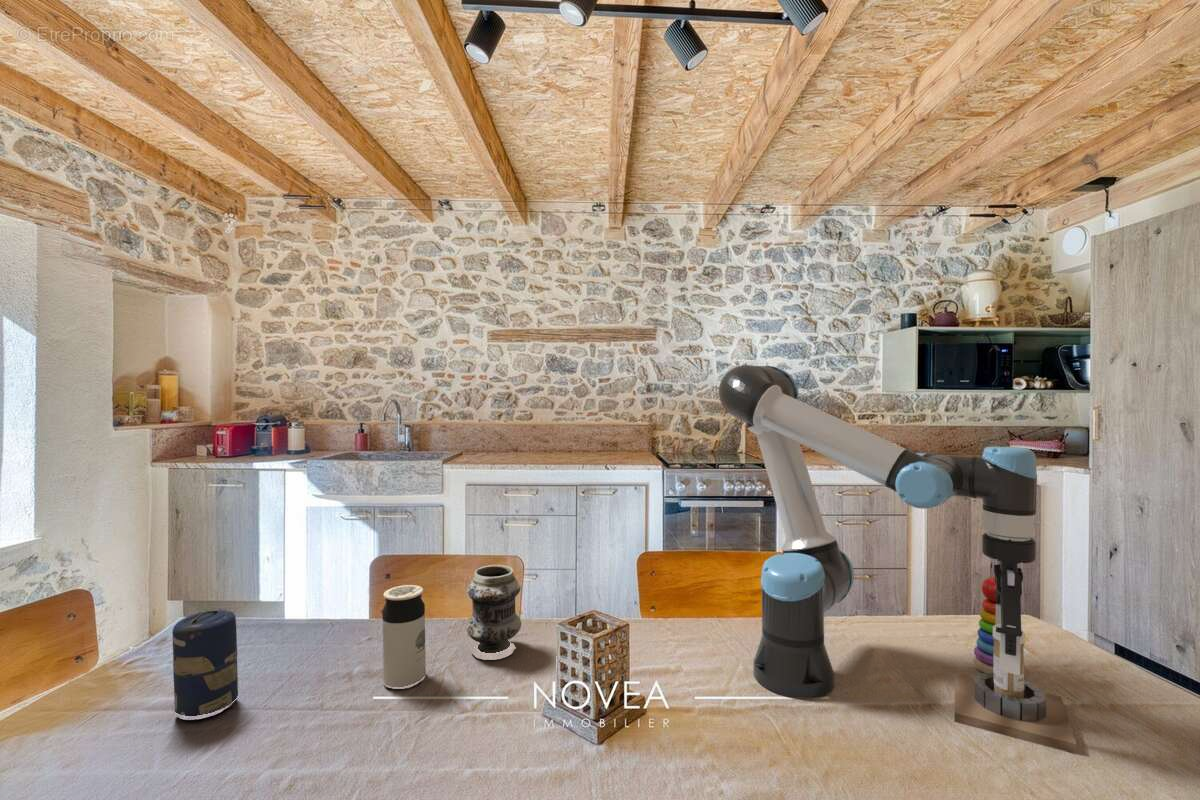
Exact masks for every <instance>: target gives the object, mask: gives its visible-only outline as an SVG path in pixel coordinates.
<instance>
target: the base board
mask: <svg viewBox="0 0 1200 800" xmlns="http://www.w3.org/2000/svg"><path fill="white" fill-rule="evenodd" d="M954 675H955V676H954V677H955V678H954V681H955V682H954V723H955V722H956V723H958V724H963V725H966V726H971V727H974V728H978V729H983V730H984V731H985V730H986V731H990V732H992V733H997V734H1000V735H1004V736H1007V737H1010V738H1011V737H1012V738H1015V739H1019V740H1023V741H1026V742H1029V743H1034V744H1037V745H1042V746H1045V747H1050V748H1052V749H1053V748H1054V749H1057V750H1061V751H1064V752H1068V753H1072V754H1075V755H1077V754H1078V752H1077V750H1078V745H1077V741H1076V739H1075V735H1074V732H1073V729H1072V725H1071V722H1070V720H1069V717H1068V714H1067V710H1066V707H1065V705H1064V701H1063V698H1062V696H1059V695H1055V694H1051V693H1047V692H1044V693H1045V696H1046V718H1044V719H1042V720H1040V721H1037V722H1033V721H1021V720H1020V721H1018V720H1014V719H1010V718H1006V717H1003V716H1002V715H1001V716H1000V715H998V714H996V713H993V712H991V711H989V710H987V709H985V708H984V707H982V706H981V705H980V704H979V703H978V702H977V701H976V700H975V679H974V677H975V676H971V675H967V674H963V673H958V672H955V674H954Z"/></svg>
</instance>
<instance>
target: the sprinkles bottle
mask: <svg viewBox="0 0 1200 800" xmlns="http://www.w3.org/2000/svg"><path fill="white" fill-rule="evenodd" d="M1007 626H1008V627H1013V628H1016V627H1014V626H1009V625H1007ZM996 627H999V628H1001V624H996V625H994V626H993V639H994V653H993V666H994V691H995V692H997V693H1000V694H1002V695H1005V696H1009V697H1013V698H1020V699H1024V681H1025V662H1024V661H1025V660H1024V647H1025V646H1024V645H1025V643H1026V634H1025V631H1024V630H1023V629H1021V631H1022V636H1021V644H1020V675H1017V674H1012V673H1008V672H1004V671H1000V669H999V665H1000V633H998V632H996Z"/></svg>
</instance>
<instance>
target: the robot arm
mask: <svg viewBox="0 0 1200 800" xmlns="http://www.w3.org/2000/svg"><path fill="white" fill-rule="evenodd" d="M718 398H719V400H720V404H721V405H722V407H723V409H724V410H726V412H727V413H728V414H730V415H731V416H733V417H735V418H737V419H739V420H742V422H745V424H746V429H747V430H748V431H749V432H751V433H752V434H754V435H755V436H756V438H757V442H758V445H759V449H760V453H761V456H762V459H763V463H764V466H765V470H766V473H767V477H768V479H769V484H770V488H771V490H772V494H773V498H774V500H775V504H776V507H777V511H778V515H779V518H780V522H781V526H782V529H783V532H784V535H785V536H784V537H785V541H784V543H783V545H782V547H781V551H782V554H780V553H779V554H774V555H773V556H772V555H771V556H770V557H769V558H767V559H766V560H765V561H764V562H763V564H762V569H761V577H760V585H761V619H762V620H761V627H762V629H761V638H760V642H759V644H758V646H757V649H756V650H757V651H756V653H755V655H754V658H753V677H754V679H755V680H756V681H757V682H758V683H759V684H760V685H761V686H762V687H764V688H765V689H768V690H769V691H771V692H774V693H776V694H779V695H782V696H787V697H789V698H790V697H791V698H796V699H797V698H798V699H813V698H814V699H815V698H820V697H823V696H826V695H828V694H830V693H831V692H832V691H833V690H834V687H835V673H834V668H833V666H832V663H831V660H830V657H829V653H828V651H827V648H826V645H825V613H826V612H827V611H829V610H830V609H831V608H833V607H834V606H835V605H836V604H838V603H840V602H842V601H843V600H844V599H845V598H846V597H847V595H848V594H849V593H850V591H851V589H852V588H853V585H854V581H855V572H854V571H855V570H854V566H853V564H852V562H851V560H850V559H849V557H848V555H846V553H845V552H843V551H841V549H840V546H839V544H838V541H837V539H836V536H834V535H833V534H830V533H829V532H828V531H827V529H826V526H825V522H824V520H823V517H822V512H821V510H820V507H819V506H820V505H819V504H818V500H817V496H816V493H815V490H814V487H813V484H812V481H811V477H810V474H809V470H808V468H807V463H806V460H805V457H804V454H803V451H802V447H801V445H802V446H804V447H806V448H808V449H810V450H812V451H814V452H816V453H818V454H820V455H822V456H824V457H826V458H828V459H830V460H832V461H834V462H836V463H838V464H840V465H842V466H844V467H846V468H848V469H850V470H852V471H854V472H856V473H858V474H860V475H862V476H864V477H866V478H868V479H870V480H872V481H874V482H876V483H878V484H879V485H882V486H883V487H886V488H889V489H890V490H892V491H894V492H895V493H896V494H897V495H898V496H899V497H900V499H901V500H902V501H903V502H904V503H905V504H907V505H909V506H910V507H912V508H916V509H923V510H924V509H925V510H926V509H932V508H935V507H939V506H941V505H942V504H945V503H946V502H947V500H949V499H950V498H951V497H960V498H961V497H962V498H970V499H981V500H982V509H981V510H982V511H981V513H982V514H981V516H982V517H981V522H982V523H981V525H982V526H981V529H982V531H983V532H984V533H983V534H982V535H981V539H982V544H981V550H982V554H983V555H985V557H987V558H990V559H992V560H997V561H996V562H997V563H996V564H993V574H994V577H995V582H996V592H995V594H996V596H997V597H996V602H997V603H1000V604H996V623H995V625H996V624H1001V628H999V627H996V632H998V633H1000V665H999V669H1000V671H1004V672H1008V673H1012V674H1017V675H1020V644H1021V636H1022V631H1021V630H1022V611H1021V610H1022V605H1021V598H1022V595H1023V591H1022V590H1023V589H1022V583H1023V582H1024V581H1023V580H1024V573H1023V572H1022V568H1021V567H1018V564H1021V563H1022V564H1030V563H1033V562H1034V561H1036V554H1037V550H1036V547H1037V544H1036V543H1037V541H1035V539H1033V538H1034V537H1036V526H1039V525H1041V521H1040V519H1038V518H1036V517H1037V516H1036V514H1037V489H1038V474H1037V472H1038V471H1037V456H1036V454H1035V452H1034V451H1033V450H1031V449H1029V448H1024V447H1015V446H1000V445H999V446H996V445H995V446H986V447H985V448H984V449H983V453H982V455H981V456H978V455H977V456H969V455H968V456H967V455H966V456H965V455H954V454H953V455H952V454H941V453H934V452H921V453H920V452H914V451H911V450H909V449H907V448H905V447H902V446H900V445H898V444H896V443H894V442H891V441H890V440H888V439H885V438H883V437H881V436H878V435H876V434H874V433H872V432H870V431H867V430H866V429H863V428H861V427H858V426H856V425H854V424H852V423H850V422H847V421H846V420H843V419H841V418H838V417H836V416H834V415H832V414H829V413H827V412H826V411H823V410H821V409H819V408H816V407H814V406H812V405H810V404H808V403H806V402H804V401H801V400H799V387H798V384H797V381H796V380H795V379H794V377H793V376H792V375H791V374H790V373H789V372H787V370H784V369H782V368H779V367H776V366H774V365H773V366H772V365H760V366H759V365H751V364H748V365H747V364H744V365H738V366H735V367H733V368H731V369H730V370H729V371H728V372H726V373H725V374H724V376H723V377H722V379H721V381H720V383H719V386H718ZM1007 625H1009V626H1014V627H1016V628H1013V627H1008V626H1007Z"/></svg>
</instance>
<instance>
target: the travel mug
mask: <svg viewBox="0 0 1200 800" xmlns="http://www.w3.org/2000/svg"><path fill="white" fill-rule="evenodd" d="M423 593H424V588H423V587H422V586H420V585H415V584H404V585H399V586H394V587H392V588H389V589H387V590H385V591H384V593H383V598H384V599H385V604H384V606H383V608H382V611H381V613H382V671H383V672H382V673H383V675H382V677H383V678H382V679H383V682H384V683H385V684H386V685H388V686H391V687H404V686H408V685H411V684H414V683H416V682H418V681H420V680H421V679H422V678H423V677H424V676H425V674H426V675H427V673H426V672H427V671H426V669H427V668H426V606H425V602H424V601H423V599H422V595H423Z"/></svg>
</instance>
